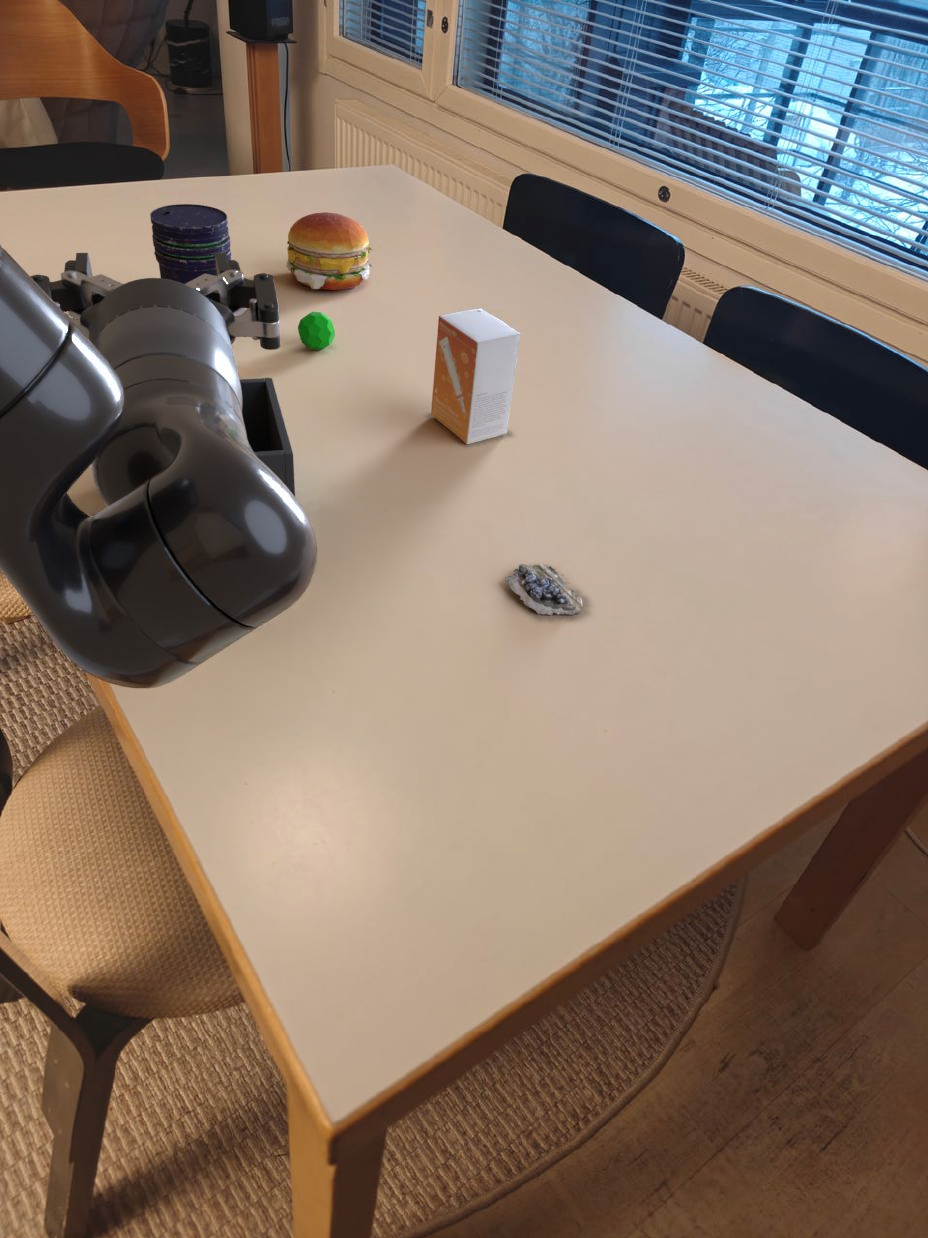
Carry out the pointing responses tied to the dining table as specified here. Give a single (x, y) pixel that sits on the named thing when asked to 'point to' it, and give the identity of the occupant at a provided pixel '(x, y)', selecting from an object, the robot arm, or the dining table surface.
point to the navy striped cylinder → (189, 240)
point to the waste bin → (267, 428)
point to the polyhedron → (316, 331)
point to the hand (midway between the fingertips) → (154, 267)
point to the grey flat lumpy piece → (544, 590)
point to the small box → (474, 374)
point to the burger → (328, 251)
